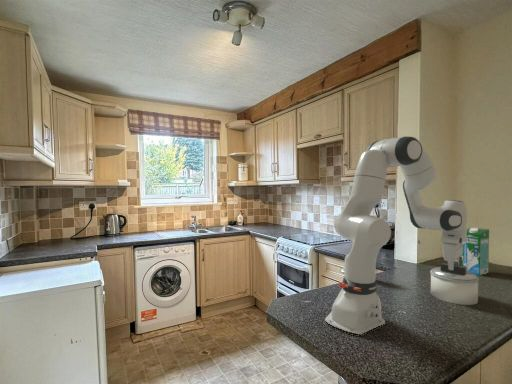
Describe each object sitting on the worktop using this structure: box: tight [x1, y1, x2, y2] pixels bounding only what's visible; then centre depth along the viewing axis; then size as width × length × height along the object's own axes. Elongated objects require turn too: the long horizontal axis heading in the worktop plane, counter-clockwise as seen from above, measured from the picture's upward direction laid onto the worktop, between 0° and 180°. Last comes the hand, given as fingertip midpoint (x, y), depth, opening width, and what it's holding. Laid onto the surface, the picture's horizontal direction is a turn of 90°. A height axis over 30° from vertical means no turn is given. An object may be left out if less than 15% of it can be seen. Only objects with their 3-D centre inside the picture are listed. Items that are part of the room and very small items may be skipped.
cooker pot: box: [429, 269, 480, 306], centre depth 122 cm, size 18×18×10 cm
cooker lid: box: [431, 262, 477, 281], centre depth 121 cm, size 16×16×4 cm
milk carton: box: [461, 227, 490, 276], centre depth 155 cm, size 9×9×25 cm
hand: (453, 267), depth 121 cm, fingers open, 8 cm apart
